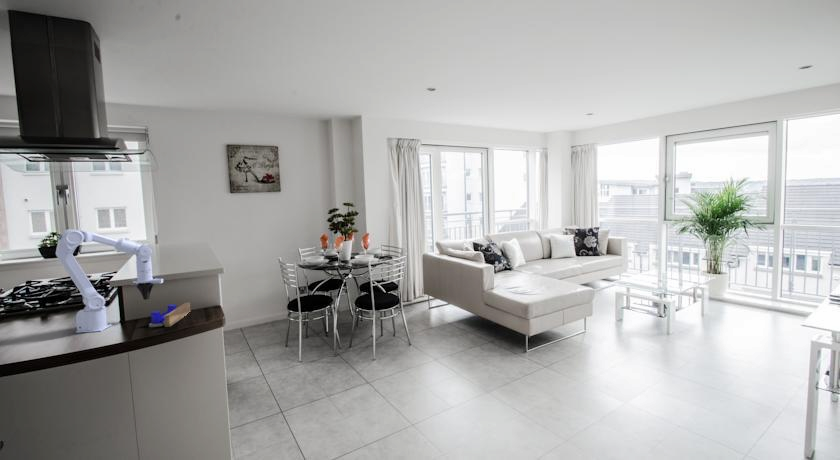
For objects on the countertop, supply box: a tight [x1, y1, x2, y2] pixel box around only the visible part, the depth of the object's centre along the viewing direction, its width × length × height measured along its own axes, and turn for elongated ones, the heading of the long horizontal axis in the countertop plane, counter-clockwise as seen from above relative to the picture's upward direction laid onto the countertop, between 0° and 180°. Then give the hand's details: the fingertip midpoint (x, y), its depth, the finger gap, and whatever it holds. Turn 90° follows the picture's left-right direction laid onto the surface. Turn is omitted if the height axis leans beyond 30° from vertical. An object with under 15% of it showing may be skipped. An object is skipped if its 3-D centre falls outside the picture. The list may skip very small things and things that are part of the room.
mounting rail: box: [148, 321, 165, 328], centre depth 176 cm, size 7×18×2 cm, turn 9°
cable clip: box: [150, 304, 177, 323], centre depth 174 cm, size 12×4×6 cm, turn 178°
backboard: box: [164, 302, 192, 328], centre depth 177 cm, size 2×21×5 cm, turn 9°
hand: (146, 299), depth 178 cm, fingers closed
